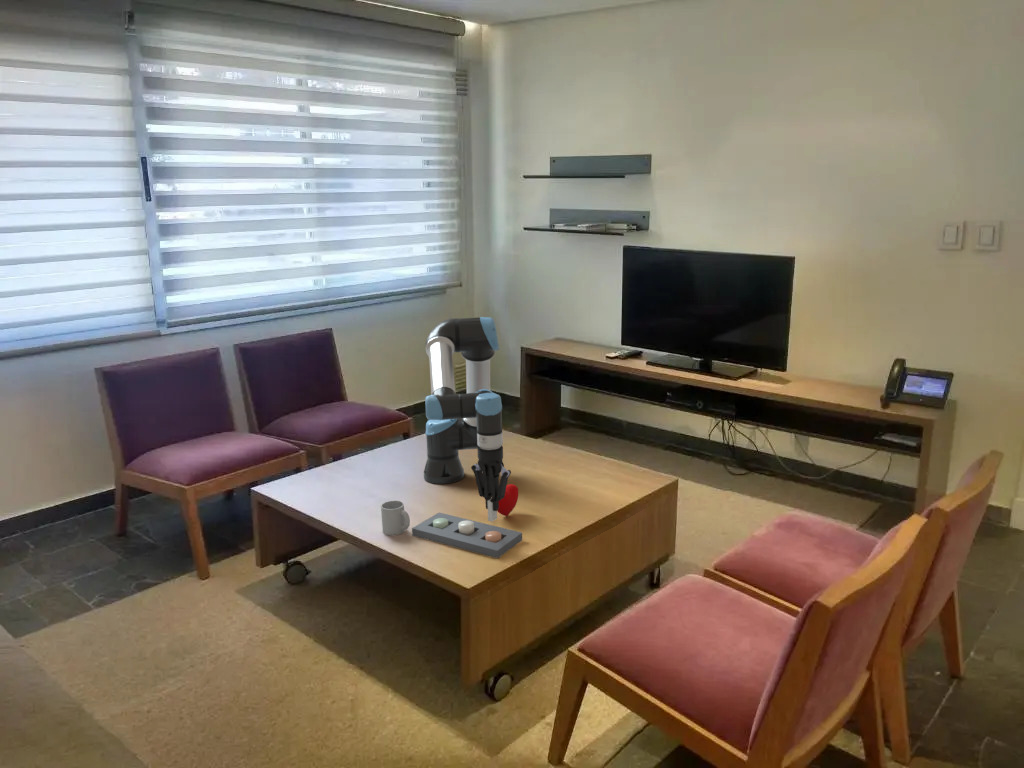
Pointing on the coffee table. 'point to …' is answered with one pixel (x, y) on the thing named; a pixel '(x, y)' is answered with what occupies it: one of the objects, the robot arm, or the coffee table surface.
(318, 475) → the coffee table surface
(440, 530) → the panel
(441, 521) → the sage button
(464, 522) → the cream button
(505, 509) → the heart
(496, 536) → the peach button
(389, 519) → the cup
